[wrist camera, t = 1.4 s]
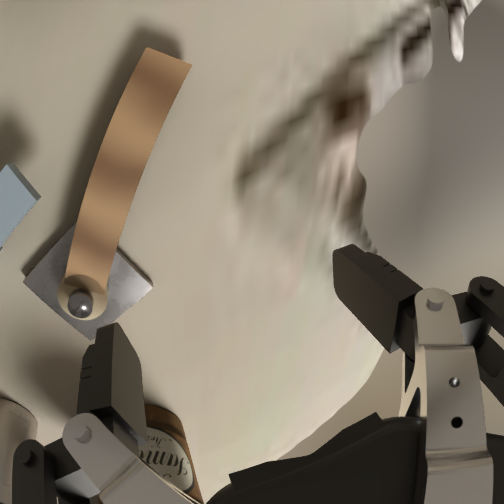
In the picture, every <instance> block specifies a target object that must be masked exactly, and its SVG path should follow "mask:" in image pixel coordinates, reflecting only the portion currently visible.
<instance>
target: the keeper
mask: <svg viewBox="0 0 504 504" xmlns="http://www.w3.org/2000/svg"><path fill="white" fill-rule="evenodd" d="M40 198H41V196H40V195H39V194H38V193H37V191H36V190H35V189H34V188H33V187H32V185H31V184H30V183H29V182H28V181H27V179H26V178H25V177H24V176H23V174H22V173H21V172H20V171H19V169H18V168H17V167H16V166H15V164H14V163H13V162H11V163H8V164H6V166H5V167H4V168H3V169H2V171H1V172H0V251H1V249H2V247H1V246H2V245H3V243H4V242H5V241H6V239H7V238H8V237H9V235H10V234H11V233H12V232H13V230H14V229H15V228H16V226H17V225H18V224H19V223H20V221H21V220H22V219H23V218H24V216H25V215H26V214H27V213H28V212H29V210H30V209H31V208H32V207H33V206H34V205H35V203H36V202H37V201H38V200H39V199H40Z"/></svg>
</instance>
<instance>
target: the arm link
mask: <svg viewBox="0 0 504 504" xmlns="http://www.w3.org/2000/svg"><path fill="white" fill-rule="evenodd" d="M191 67H192V65H191V64H189V63H186V62H184V61H182V60H179V59H177V58H174V57H172V56H169V55H167V54H164V53H161V52H159V51H156V50H153V49H151V48H148V47H146V49H145V51H144V53H143V54H142V56H141V58H140V60H139V62H138V64H137V66H136V68H135V70H134V72H133V74H132V75H131V78H130V80H129V82H128V84H127V86H126V88H125V90H124V92H123V94H122V96H121V99H120V101H119V103H118V105H117V108H116V110H115V112H114V114H113V117H112V119H111V122H110V124H109V126H108V129H107V131H106V134H105V137H104V139H103V142H102V144H101V147H100V150H99V153H98V155H97V158H96V161H95V164H94V167H93V170H92V173H91V176H90V179H89V182H88V185H87V188H86V192H85V195H84V198H83V202H82V205H81V209H80V212H79V216H78V220H77V224H76V228H75V232H74V236H73V240H72V245H71V249H70V254H69V258H68V263H67V268H66V272H65V273H64V275H63V277H62V279H61V282H60V285H59V287H58V291H57V297H58V301H59V304H60V306H61V307H62V309H63V310H64V311H65V312H66V313H67V314H69V315H70V316H72V317H74V316H73V315H72V314H71V313H70V312H69V310H68V307H67V303H68V300H69V296H70V294H71V292H72V291H74V290H76V289H84V290H86V291H88V292H89V293H90V294H91V295H92V297H93V300H94V303H93V309H92V313H91V315H90V316H88V317H87V318H77V317H74V318H76V319H80V320H91V319H94V318H97V317H98V316H100V315H101V314H102V313H103V312H104V310H105V308H106V306H107V299H108V290H109V288H108V282H107V281H108V277H109V273H110V270H111V266H112V263H113V259H114V256H115V252H116V249H117V246H118V242H119V239H120V236H121V233H122V230H123V226H124V223H125V220H126V217H127V214H128V212H129V209H130V206H131V203H132V200H133V197H134V195H135V192H136V189H137V186H138V184H139V181H140V178H141V176H142V173H143V171H144V168H145V166H146V163H147V161H148V158H149V156H150V153H151V151H152V149H153V146H154V144H155V141H156V139H157V137H158V135H159V132H160V130H161V128H162V126H163V123H164V121H165V119H166V117H167V115H168V112H169V110H170V108H171V106H172V104H173V102H174V100H175V98H176V96H177V94H178V92H179V90H180V88H181V86H182V84H183V82H184V80H185V78H186V76H187V74H188V72H189V70H190V69H191Z"/></svg>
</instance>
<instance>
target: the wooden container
mask: <svg viewBox="0 0 504 504" xmlns="http://www.w3.org/2000/svg"><path fill="white" fill-rule="evenodd" d="M144 408H145V417H146V426H147V434H148V442H149V444H148V445H143V446H138V450H139V456H140V457H141V458H142V459H143V460H144V461H145V462H147V463H148V464H149V465H150V466H151V467H152V468H153V469H155V470H156V471H157V472H158V473H159V474H161V475H162V476H163V477H164V478H166V479H167V480H168V481H169V482H171V483H172V484H173V485H174V486H176V487H177V488H178V489H180V490H181V491H182V492H184V493H185V494H187V495H188V496H190V497H191V498H192V499H194V500H195V501H197V502H198V503H200V504H204V502H203V499H202V496H201V492H200V489H199V486H198V482H197V478H196V474H195V470H194V466H193V463H192V459H191V455H190V451H189V448H188V444H187V442H186V437H185V433H184V430H183V426H182V423H181V421H180V420H179V418H178V417H177V416H176V415H174V414H173V413H171V412H169V411H168V410H165V409H163V408H160V407H156V406H152V405H146V404H144ZM97 497H98V504H104V503H103V502H102V501H101V499H100V498H99V496H98V494H97Z"/></svg>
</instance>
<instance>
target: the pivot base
mask: <svg viewBox="0 0 504 504" xmlns="http://www.w3.org/2000/svg"><path fill="white" fill-rule="evenodd" d="M76 224H77V221H76V222H75V223H74V224H73V225H72V226H71V227H70V228H69V229H68V230H67V231H66V232H65V233H64V235H63V236H62V237H61V238H60V239H59V240H58V241H57V242H56V243H55V244H54V245H53V246H52V247H51V249H50V250H49V251H48V252H47V253H46V254H45V255H44V256H43V257H42V259H41V260H40V261H39V262H38V263H37V264H36V266H35V267H34V268H33V269H32V270H31V271H30V273H29V274H28V275H27V276H26V277H25V279H24V281H23V283H24V284H25V285H26V286H27V287H28V288H29V289H30V290H32V291H33V292H34V293H35V294H36V295H37V296H38V297H39V298H40V299H41V300H42V301H44V302H45V303H46V304H47V305H48V306H49V307H50V308H51V309H53V310H54V311H55V312H56V313H57V314H58V315H60V316H61V317H62V318H63V319H64V320H66V321H67V322H68V323H69V324H70V325H72V326H73V327H74V328H75V329H77V330H78V331H79V332H80V333H82V334H83V335H84V336H85V337H87V338H88V339H89V340H92V339H94V338H95V337H96V331H97V328H99V327H103V326H106V325H109V324H111V323H112V322H113V321H115V320H116V319H117V318H118V317H119V316H120V315H122V314H123V313H124V312H125V311H126V310H128V309H129V308H130V307H131V306H132V305H133V304H135V303H136V302H137V301H138V300H139V299H141V298H142V297H143V296H144V295H145V294H147V293H148V292H149V291H150V290H152V289H153V283H152V282H151V281H150V280H149V279H148V278H147V277H146V276H145V275H144V274H143V273H142V272H141V271H140V270H139V269H138V268H137V267H136V266H135V265H134V264H133V263H132V262H131V261H130V260H129V259H128V258H127V257H126V256H125V255H124V254H123V253H122V252H121V251H120V250H119V249H118V248H117V249H116V252H115V256H114V259H113V263H112V266H111V270H110V273H109V277H108V281H107V282H108V288H109V290H108V299H107V306H106V308H105V310H104V312H103V313H102V314H101V315H100V316H98V317H97V318H94V319H91V320H80V319H76V318H74V317H77V318H87V317H88V316H90V315H91V313H92V309H93V303H94V300H93V297H92V295H91V294H90V293H89V292H88V291H86V290H84V289H76V290H74V291H72V292H71V294H70V296H69V300H68V303H67V307H68V310H69V312H70V313H71V314H72V315H73V316H74V317H72V316H70V315H69V314H67V313H66V312H65V311H64V310H63V309H62V307H61V306H60V304H59V301H58V297H57V291H58V287H59V285H60V282H61V279H62V277H63V275H64V273H65V272H66V268H67V263H68V258H69V254H70V249H71V245H72V240H73V236H74V232H75V228H76Z"/></svg>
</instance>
